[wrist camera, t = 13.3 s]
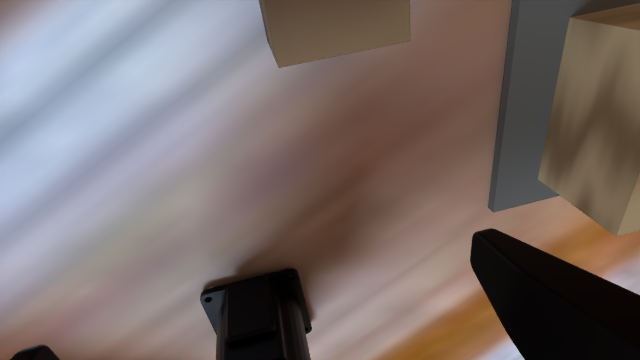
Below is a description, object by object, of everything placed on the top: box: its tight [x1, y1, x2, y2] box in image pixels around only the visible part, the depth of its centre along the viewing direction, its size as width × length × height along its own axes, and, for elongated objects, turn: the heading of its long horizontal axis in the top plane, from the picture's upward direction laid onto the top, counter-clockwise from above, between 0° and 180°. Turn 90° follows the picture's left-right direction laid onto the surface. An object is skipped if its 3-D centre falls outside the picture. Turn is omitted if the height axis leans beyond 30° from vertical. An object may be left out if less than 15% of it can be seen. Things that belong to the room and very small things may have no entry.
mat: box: [488, 0, 640, 212], centre depth 22 cm, size 14×10×1 cm
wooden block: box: [538, 3, 640, 237], centre depth 20 cm, size 10×4×6 cm, turn 9°
